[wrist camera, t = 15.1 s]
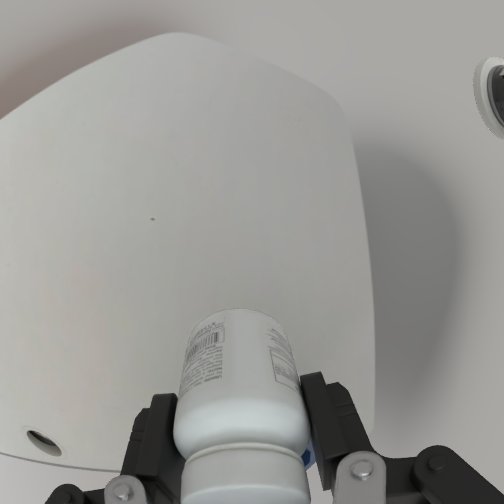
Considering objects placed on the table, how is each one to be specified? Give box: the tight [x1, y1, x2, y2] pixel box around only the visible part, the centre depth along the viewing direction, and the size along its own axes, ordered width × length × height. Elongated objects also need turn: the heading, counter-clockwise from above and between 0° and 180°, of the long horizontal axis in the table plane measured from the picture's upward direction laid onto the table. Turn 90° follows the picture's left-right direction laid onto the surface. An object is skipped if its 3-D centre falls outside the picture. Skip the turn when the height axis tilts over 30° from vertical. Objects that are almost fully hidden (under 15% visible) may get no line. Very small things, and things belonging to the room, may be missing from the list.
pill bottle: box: [173, 309, 311, 504], centre depth 9 cm, size 4×4×8 cm
